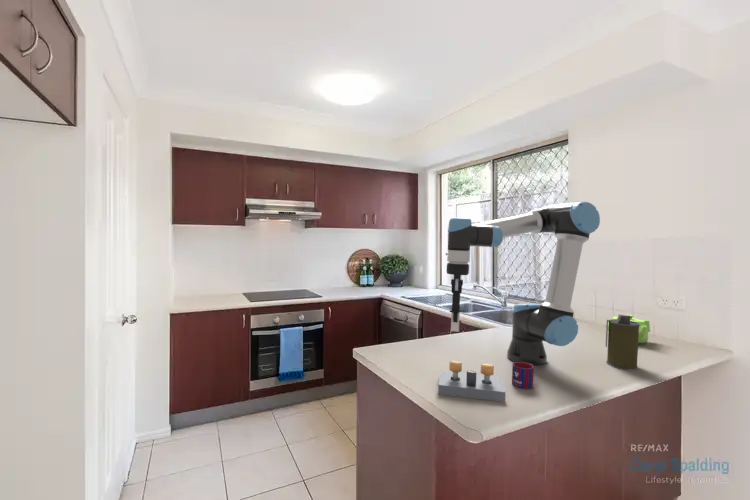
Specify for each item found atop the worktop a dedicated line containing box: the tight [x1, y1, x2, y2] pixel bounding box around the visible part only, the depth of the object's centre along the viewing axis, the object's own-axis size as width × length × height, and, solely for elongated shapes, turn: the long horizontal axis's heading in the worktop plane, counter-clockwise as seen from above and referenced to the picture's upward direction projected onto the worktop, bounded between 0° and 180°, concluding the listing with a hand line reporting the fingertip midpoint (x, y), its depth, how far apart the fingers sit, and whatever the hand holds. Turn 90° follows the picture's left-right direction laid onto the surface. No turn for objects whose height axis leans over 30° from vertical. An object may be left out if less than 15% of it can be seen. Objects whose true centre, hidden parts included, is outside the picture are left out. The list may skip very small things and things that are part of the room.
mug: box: [511, 361, 535, 390], centre depth 126 cm, size 7×10×7 cm
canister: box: [605, 314, 640, 370], centre depth 147 cm, size 11×10×20 cm
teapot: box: [608, 314, 651, 344], centre depth 180 cm, size 18×20×13 cm
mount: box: [438, 370, 506, 403], centre depth 120 cm, size 20×13×3 cm, turn 77°
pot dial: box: [466, 370, 477, 387], centre depth 117 cm, size 3×3×4 cm
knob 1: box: [448, 359, 463, 379], centre depth 121 cm, size 4×4×6 cm
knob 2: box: [480, 362, 495, 383], centre depth 119 cm, size 4×4×6 cm
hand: (454, 330), depth 127 cm, fingers closed
